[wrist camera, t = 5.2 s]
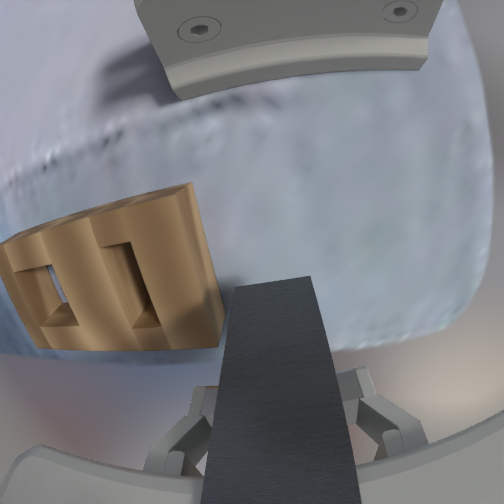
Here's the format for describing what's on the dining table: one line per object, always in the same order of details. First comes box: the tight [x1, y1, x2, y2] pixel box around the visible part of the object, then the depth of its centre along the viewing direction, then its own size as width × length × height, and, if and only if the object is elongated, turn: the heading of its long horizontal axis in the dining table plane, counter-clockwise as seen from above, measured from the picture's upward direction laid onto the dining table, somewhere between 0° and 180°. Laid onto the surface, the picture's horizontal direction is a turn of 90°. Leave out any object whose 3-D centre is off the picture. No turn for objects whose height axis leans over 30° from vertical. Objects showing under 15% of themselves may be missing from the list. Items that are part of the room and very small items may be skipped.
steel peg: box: [200, 276, 362, 504], centre depth 11 cm, size 4×4×12 cm
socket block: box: [0, 182, 226, 351], centre depth 20 cm, size 18×10×4 cm, turn 101°
